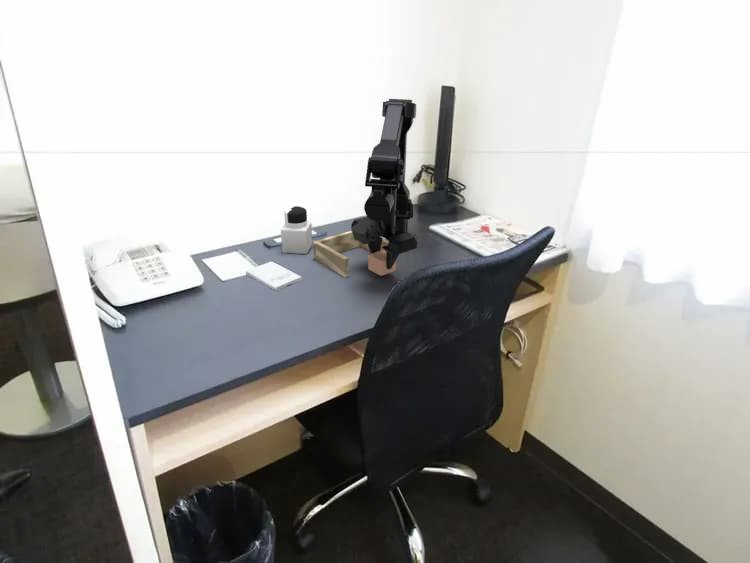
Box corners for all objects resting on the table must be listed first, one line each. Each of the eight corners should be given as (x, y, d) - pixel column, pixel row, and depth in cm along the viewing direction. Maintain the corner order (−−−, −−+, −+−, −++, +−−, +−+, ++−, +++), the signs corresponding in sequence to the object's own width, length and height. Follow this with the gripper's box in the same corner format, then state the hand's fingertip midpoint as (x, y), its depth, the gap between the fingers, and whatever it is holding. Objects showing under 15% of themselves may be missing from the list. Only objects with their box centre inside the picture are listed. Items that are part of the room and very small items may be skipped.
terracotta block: (382, 263, 125) (383, 249, 124) (395, 270, 122) (396, 256, 120) (368, 268, 123) (368, 254, 121) (380, 275, 119) (381, 261, 117)
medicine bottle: (312, 244, 140) (310, 204, 134) (307, 254, 134) (305, 213, 128) (288, 242, 140) (285, 203, 135) (282, 253, 134) (278, 212, 128)
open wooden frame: (360, 243, 141) (360, 227, 138) (392, 260, 131) (393, 243, 129) (313, 258, 131) (312, 241, 129) (344, 277, 122) (344, 259, 119)
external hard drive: (272, 266, 128) (302, 281, 121) (246, 276, 123) (276, 293, 115) (272, 260, 127) (302, 276, 120) (245, 270, 122) (275, 287, 114)
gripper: (333, 202, 116) (334, 261, 123) (384, 225, 104) (382, 288, 111) (369, 194, 123) (368, 250, 130) (420, 214, 110) (416, 275, 117)
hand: (382, 265), depth 122 cm, fingers closed on terracotta block, 5 cm apart
